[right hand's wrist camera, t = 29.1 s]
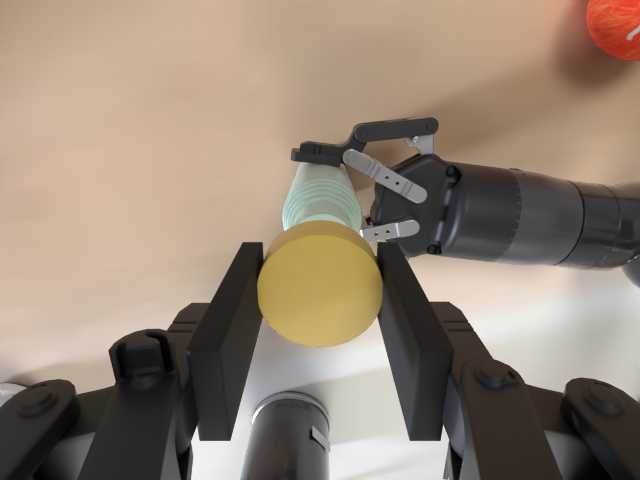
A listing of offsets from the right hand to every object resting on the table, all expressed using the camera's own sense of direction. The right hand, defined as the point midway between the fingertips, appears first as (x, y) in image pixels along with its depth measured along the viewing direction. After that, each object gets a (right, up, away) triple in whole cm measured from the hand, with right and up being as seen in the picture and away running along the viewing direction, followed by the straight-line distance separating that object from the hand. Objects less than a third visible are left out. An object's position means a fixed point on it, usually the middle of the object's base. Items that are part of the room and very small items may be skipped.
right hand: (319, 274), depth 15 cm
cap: (0, 0, -1) cm, 1 cm away
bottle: (0, +7, +21) cm, 22 cm away
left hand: (-2, +5, +15) cm, 16 cm away
